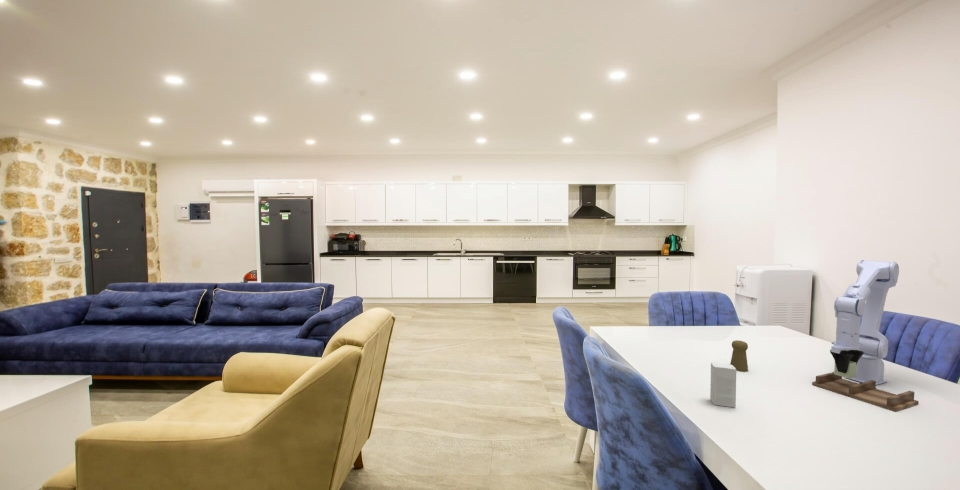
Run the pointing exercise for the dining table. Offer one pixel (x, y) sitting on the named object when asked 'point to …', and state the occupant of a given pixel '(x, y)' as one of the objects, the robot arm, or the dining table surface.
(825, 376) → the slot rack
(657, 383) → the dining table surface
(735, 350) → the cork
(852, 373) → the sage block
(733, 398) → the skincare box
